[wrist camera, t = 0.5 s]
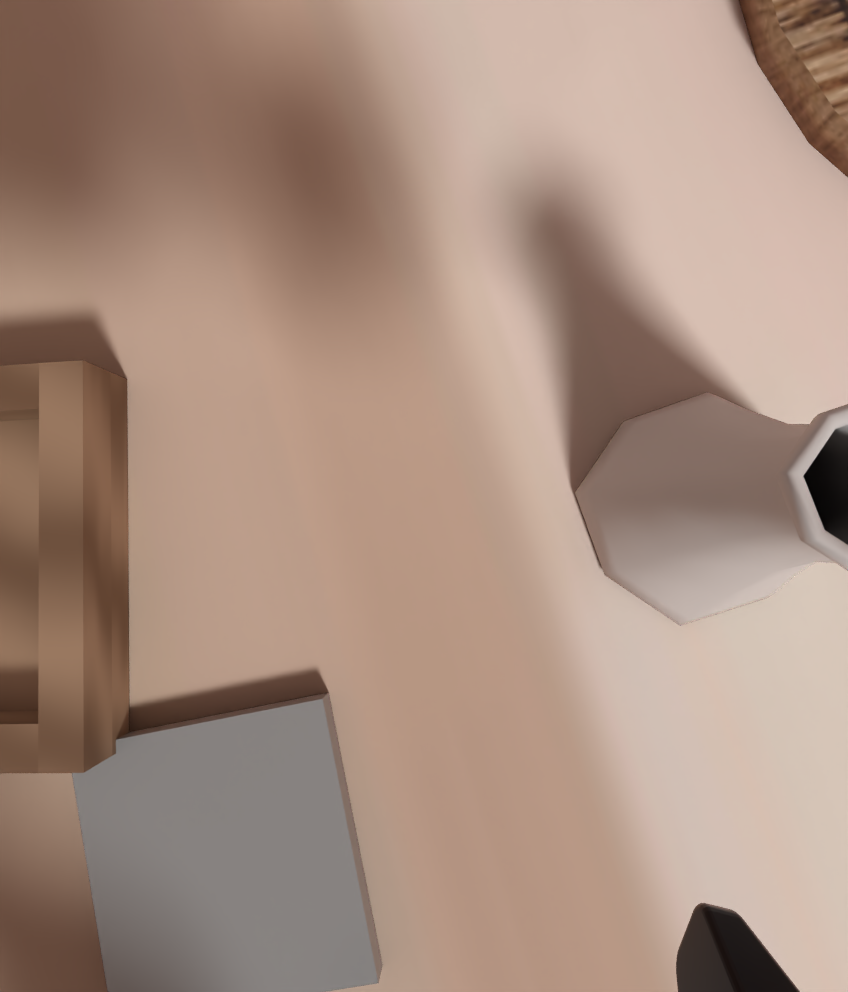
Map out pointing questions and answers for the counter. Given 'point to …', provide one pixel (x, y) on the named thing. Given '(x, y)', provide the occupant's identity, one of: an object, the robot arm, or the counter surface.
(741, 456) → the flask
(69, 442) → the tray
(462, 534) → the counter surface
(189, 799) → the slate coaster
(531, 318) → the counter surface
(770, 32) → the trivet
